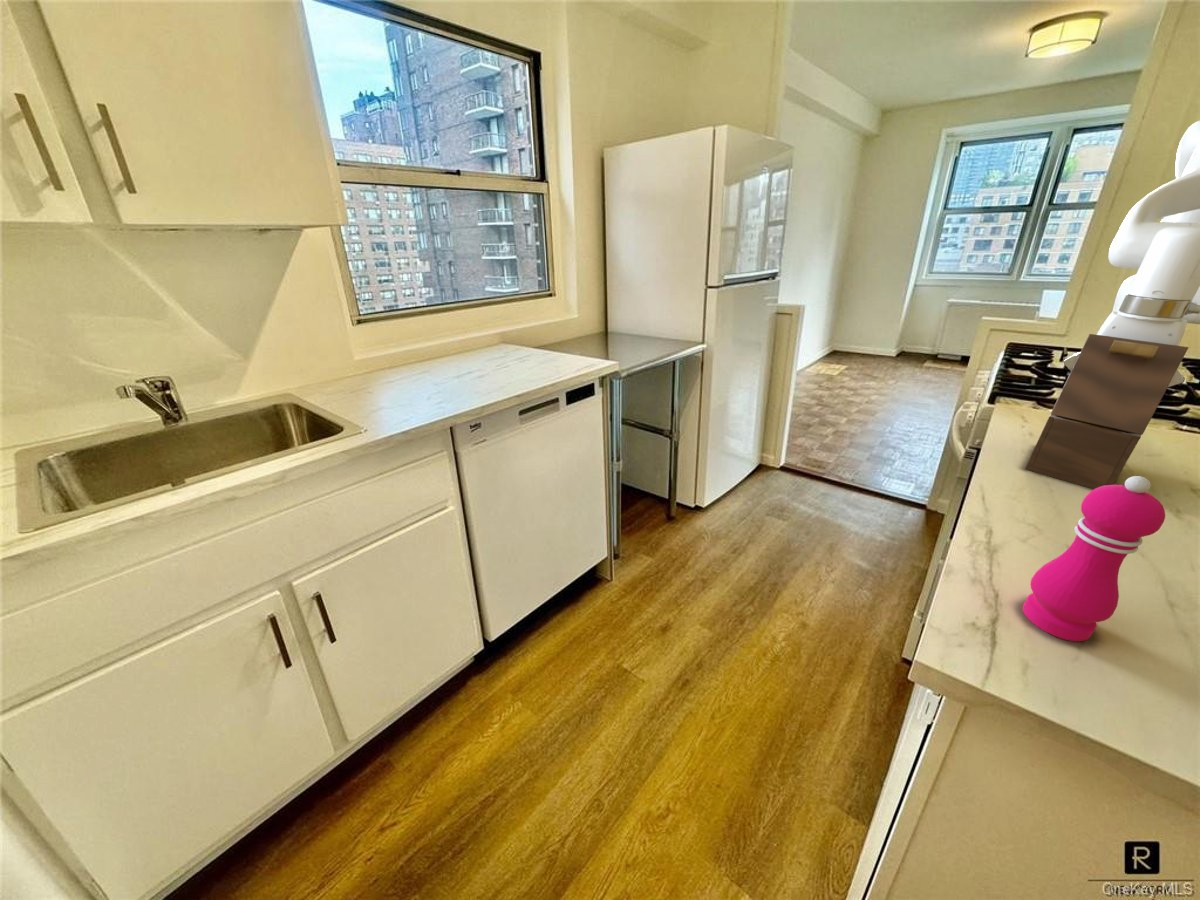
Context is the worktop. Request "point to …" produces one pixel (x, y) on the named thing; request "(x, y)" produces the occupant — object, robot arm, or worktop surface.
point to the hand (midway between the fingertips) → (1100, 408)
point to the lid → (1118, 382)
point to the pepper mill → (1093, 560)
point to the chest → (1081, 452)
